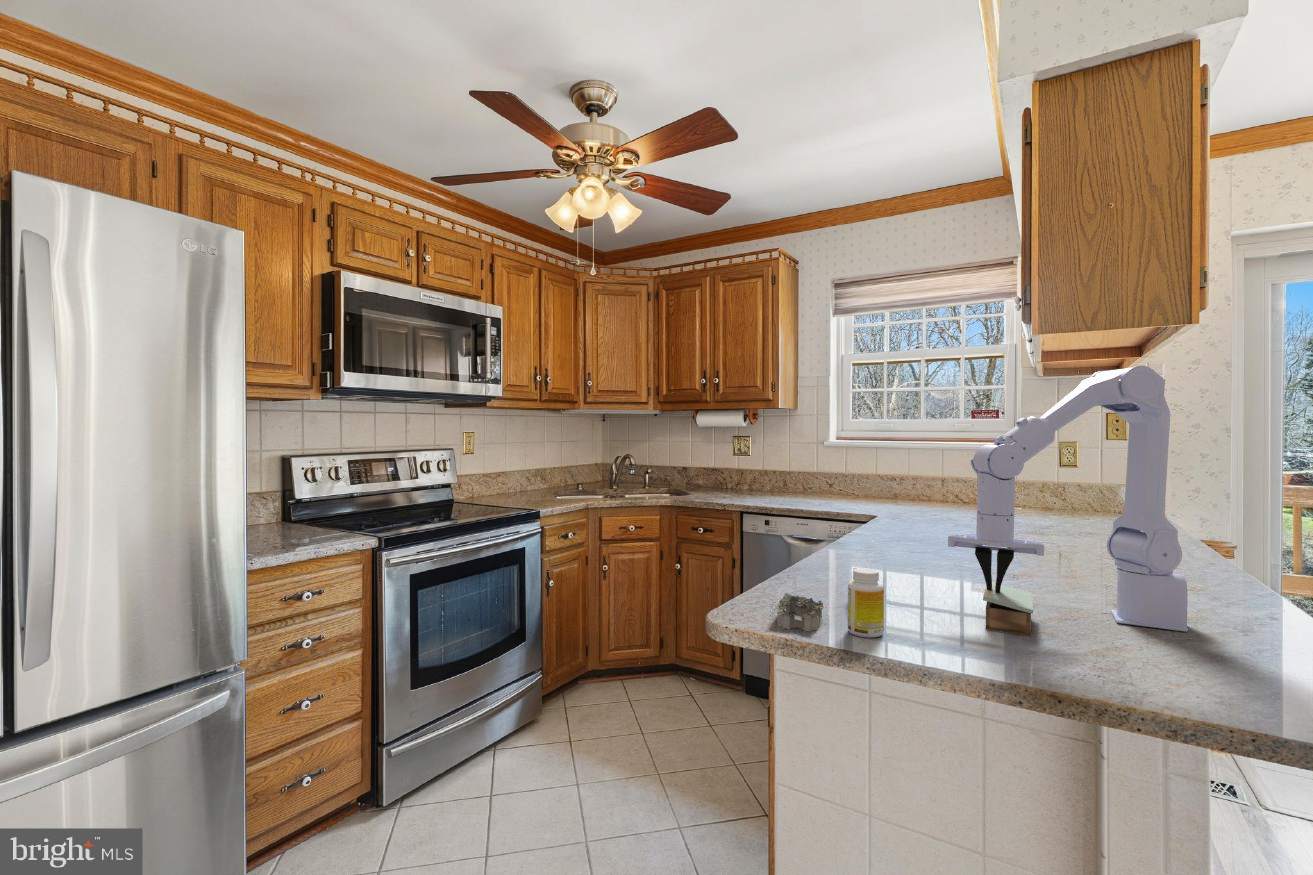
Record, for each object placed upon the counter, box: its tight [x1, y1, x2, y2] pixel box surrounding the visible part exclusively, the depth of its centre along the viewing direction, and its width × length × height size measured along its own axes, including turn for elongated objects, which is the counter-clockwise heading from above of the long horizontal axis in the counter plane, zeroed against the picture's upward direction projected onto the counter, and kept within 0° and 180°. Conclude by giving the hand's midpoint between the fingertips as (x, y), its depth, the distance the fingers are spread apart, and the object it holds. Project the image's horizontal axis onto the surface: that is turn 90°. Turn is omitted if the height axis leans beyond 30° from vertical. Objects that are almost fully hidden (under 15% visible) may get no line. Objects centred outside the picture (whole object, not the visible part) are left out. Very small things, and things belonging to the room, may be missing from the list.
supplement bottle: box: [847, 567, 885, 639], centre depth 101 cm, size 6×6×10 cm
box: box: [985, 601, 1032, 637], centre depth 106 cm, size 6×12×4 cm, turn 150°
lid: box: [982, 581, 1034, 615], centre depth 106 cm, size 7×12×1 cm, turn 150°
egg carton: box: [774, 592, 824, 632], centre depth 107 cm, size 11×8×4 cm
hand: (993, 592), depth 107 cm, fingers closed, pressing on lid
